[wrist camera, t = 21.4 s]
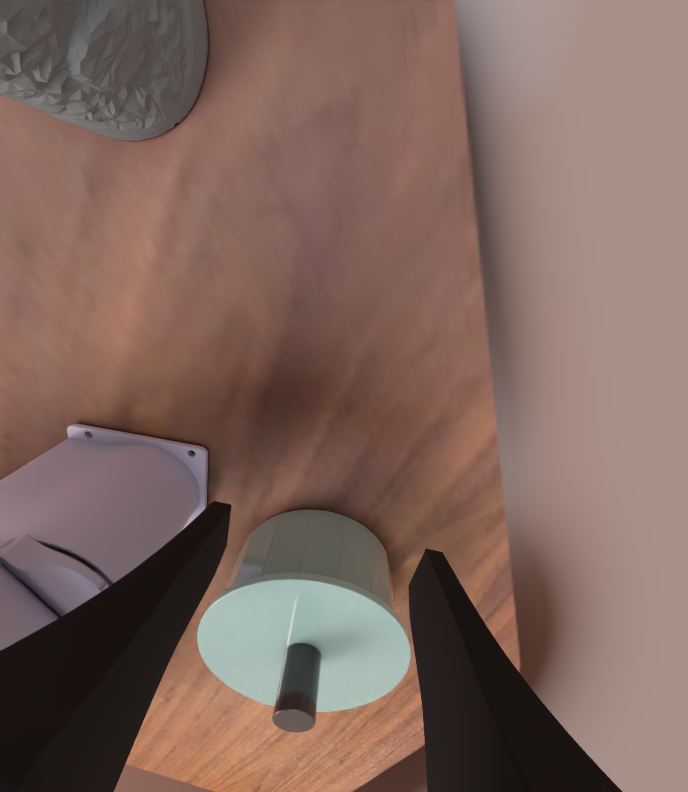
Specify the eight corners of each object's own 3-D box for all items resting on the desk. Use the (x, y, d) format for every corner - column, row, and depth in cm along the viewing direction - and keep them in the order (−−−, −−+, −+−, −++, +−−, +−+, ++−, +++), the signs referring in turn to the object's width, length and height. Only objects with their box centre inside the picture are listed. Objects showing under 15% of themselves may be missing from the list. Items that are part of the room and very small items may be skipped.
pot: (237, 602, 29) (209, 682, 24) (247, 496, 24) (214, 565, 19) (371, 625, 29) (373, 708, 24) (406, 524, 25) (419, 600, 19)
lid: (202, 677, 24) (171, 760, 20) (206, 545, 19) (164, 622, 15) (381, 705, 25) (386, 792, 21) (434, 584, 19) (454, 670, 15)
